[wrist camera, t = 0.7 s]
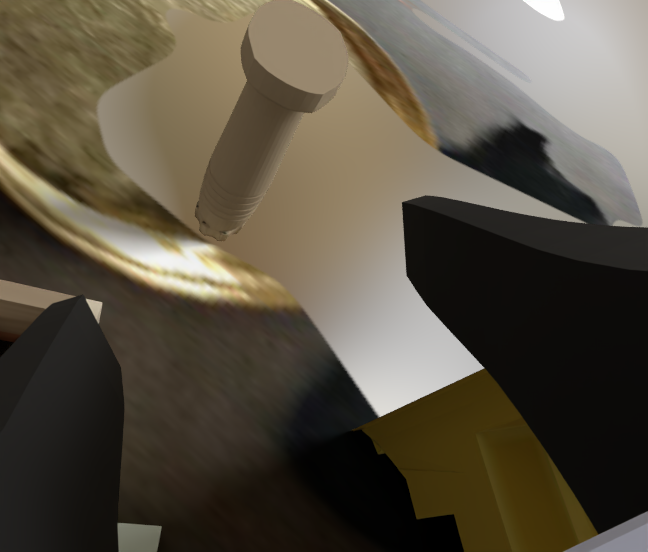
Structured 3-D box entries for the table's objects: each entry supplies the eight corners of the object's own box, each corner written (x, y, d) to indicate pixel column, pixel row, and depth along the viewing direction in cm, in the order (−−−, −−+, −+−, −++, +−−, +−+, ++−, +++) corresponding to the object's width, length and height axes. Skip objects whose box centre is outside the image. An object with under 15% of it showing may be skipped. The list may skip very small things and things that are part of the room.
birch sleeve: (62, 446, 24) (63, 422, 20) (-75, 429, 22) (-102, 399, 18) (95, 341, 27) (102, 302, 23) (-22, 318, 25) (-36, 271, 21)
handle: (167, 245, 31) (233, 55, 20) (197, 177, 35) (268, -16, 23) (236, 273, 33) (337, 109, 21) (259, 205, 36) (355, 34, 25)
